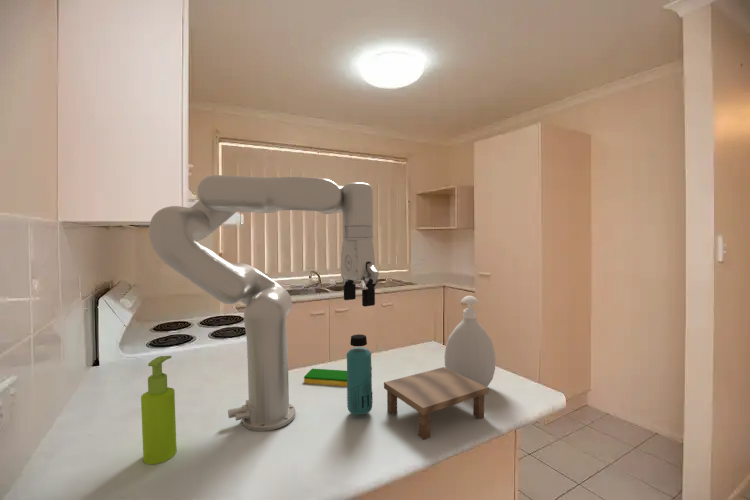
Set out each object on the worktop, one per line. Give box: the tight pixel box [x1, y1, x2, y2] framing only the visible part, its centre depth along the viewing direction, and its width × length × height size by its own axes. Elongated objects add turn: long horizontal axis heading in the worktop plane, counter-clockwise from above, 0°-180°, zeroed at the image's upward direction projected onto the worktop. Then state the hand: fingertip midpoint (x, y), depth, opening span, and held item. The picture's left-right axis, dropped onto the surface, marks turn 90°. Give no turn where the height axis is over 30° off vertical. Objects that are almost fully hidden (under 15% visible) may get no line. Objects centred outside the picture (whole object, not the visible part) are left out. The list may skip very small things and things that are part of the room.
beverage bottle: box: [346, 333, 374, 415], centre depth 91 cm, size 6×7×20 cm
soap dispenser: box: [140, 355, 177, 465], centre depth 75 cm, size 6×7×20 cm
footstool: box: [383, 366, 489, 440], centre depth 90 cm, size 20×16×8 cm
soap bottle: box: [444, 295, 496, 387], centre depth 107 cm, size 14×8×27 cm, turn 77°
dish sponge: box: [303, 368, 347, 387], centre depth 113 cm, size 7×14×2 cm, turn 79°
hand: (358, 302), depth 90 cm, fingers open, 9 cm apart
